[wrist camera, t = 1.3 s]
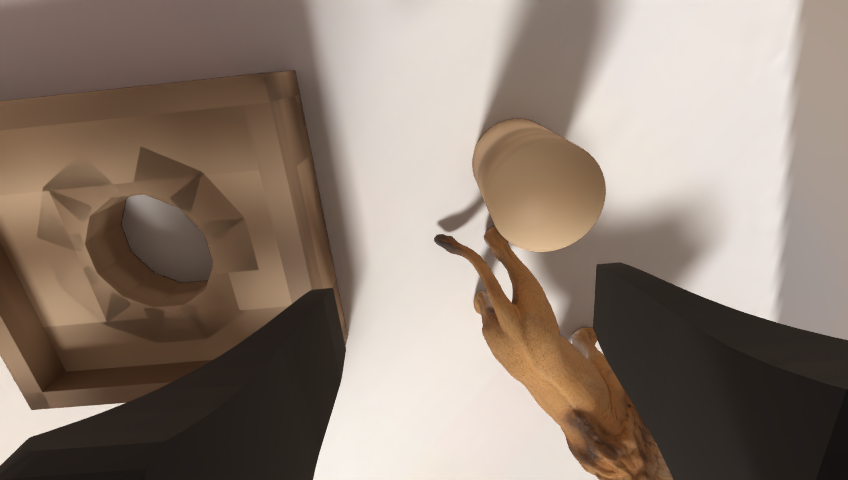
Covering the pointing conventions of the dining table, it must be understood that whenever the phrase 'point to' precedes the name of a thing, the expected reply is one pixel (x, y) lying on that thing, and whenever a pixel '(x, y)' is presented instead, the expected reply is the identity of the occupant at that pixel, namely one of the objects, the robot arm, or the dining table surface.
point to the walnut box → (107, 245)
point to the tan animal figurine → (561, 370)
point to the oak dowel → (537, 185)
